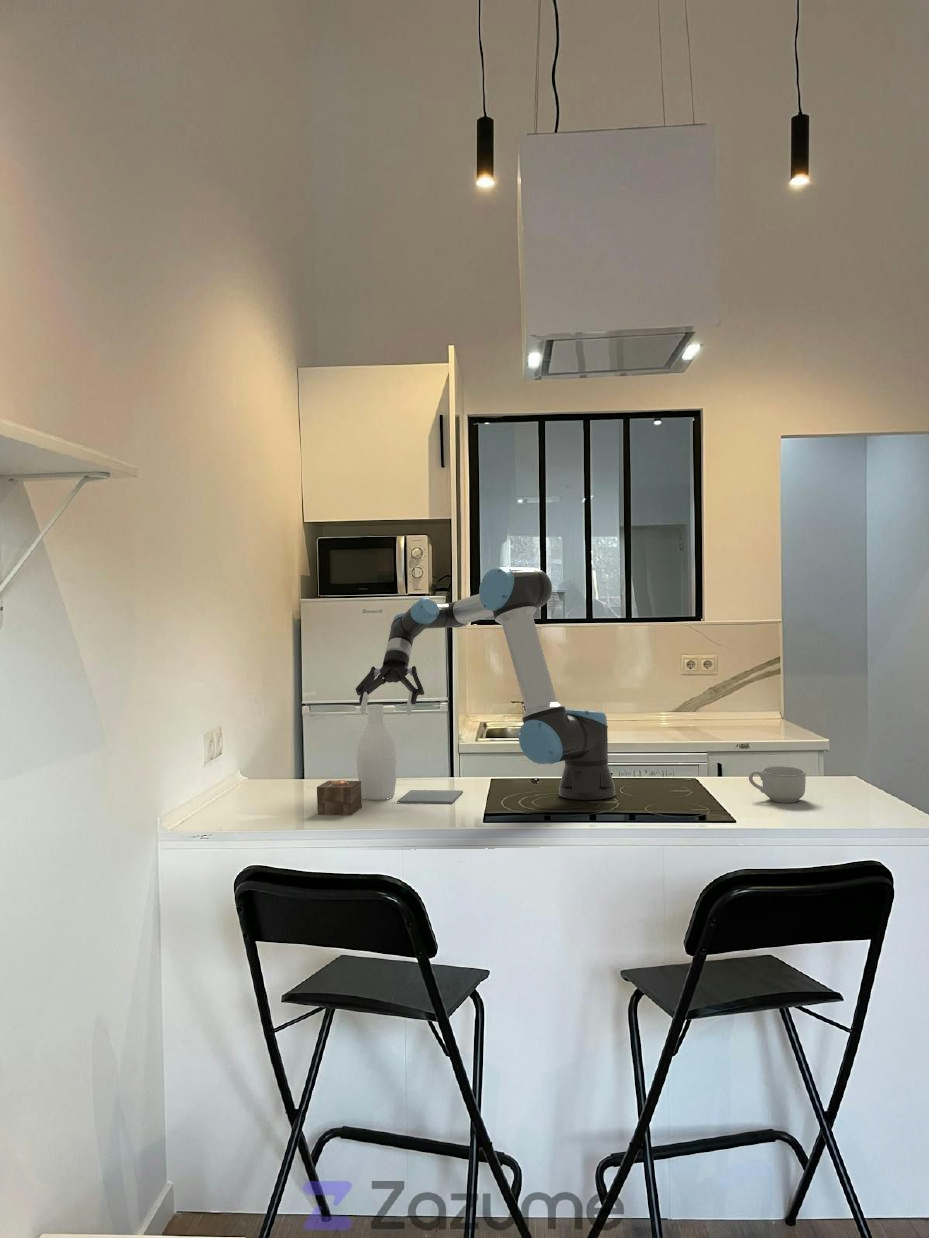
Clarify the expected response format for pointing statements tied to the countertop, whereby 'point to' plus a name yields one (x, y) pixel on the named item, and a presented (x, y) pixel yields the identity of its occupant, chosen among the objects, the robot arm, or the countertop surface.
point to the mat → (431, 796)
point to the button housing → (339, 798)
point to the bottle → (376, 757)
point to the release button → (339, 783)
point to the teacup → (781, 783)
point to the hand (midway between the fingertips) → (385, 712)
